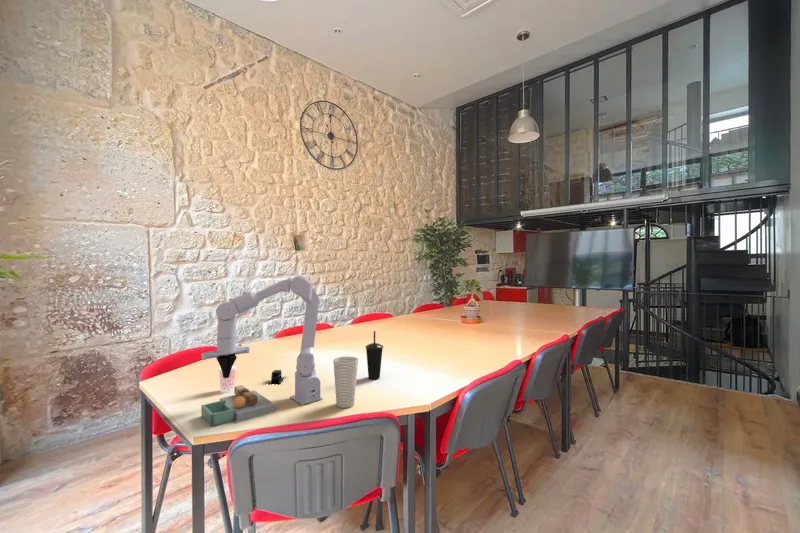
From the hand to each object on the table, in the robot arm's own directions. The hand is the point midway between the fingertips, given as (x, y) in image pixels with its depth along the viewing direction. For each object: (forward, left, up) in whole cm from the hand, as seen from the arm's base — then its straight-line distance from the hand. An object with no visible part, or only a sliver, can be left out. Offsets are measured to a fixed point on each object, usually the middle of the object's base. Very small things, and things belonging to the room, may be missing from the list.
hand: (226, 377), depth 116 cm
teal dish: (-9, +5, -10) cm, 14 cm away
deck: (-8, -4, -10) cm, 13 cm away
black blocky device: (+13, -24, -10) cm, 29 cm away
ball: (-11, -1, -5) cm, 13 cm away
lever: (-6, -5, -7) cm, 10 cm away
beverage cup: (+15, -5, -10) cm, 18 cm away
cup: (-27, -30, -10) cm, 42 cm away
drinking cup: (-11, -56, -10) cm, 58 cm away
